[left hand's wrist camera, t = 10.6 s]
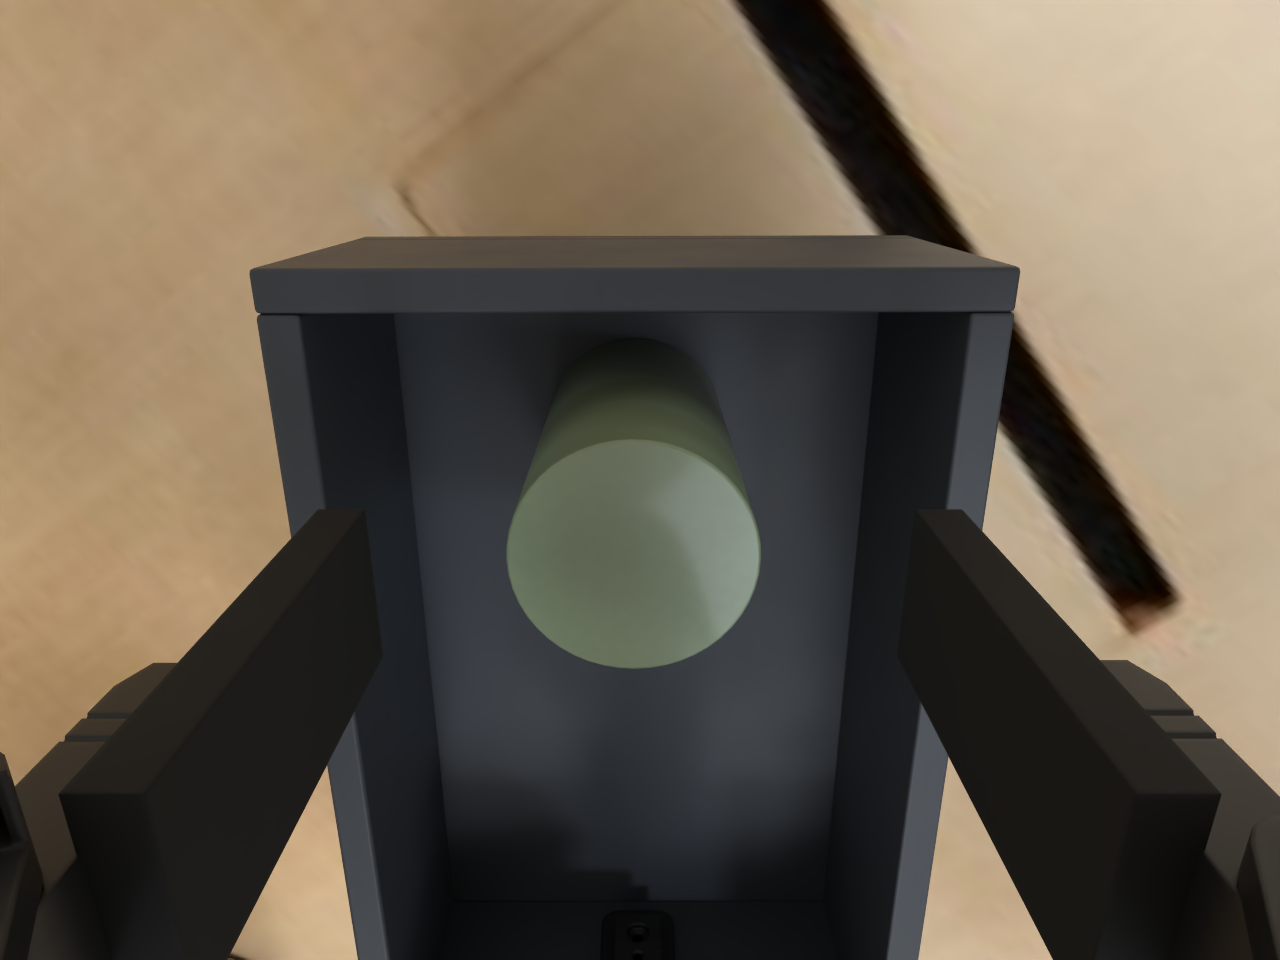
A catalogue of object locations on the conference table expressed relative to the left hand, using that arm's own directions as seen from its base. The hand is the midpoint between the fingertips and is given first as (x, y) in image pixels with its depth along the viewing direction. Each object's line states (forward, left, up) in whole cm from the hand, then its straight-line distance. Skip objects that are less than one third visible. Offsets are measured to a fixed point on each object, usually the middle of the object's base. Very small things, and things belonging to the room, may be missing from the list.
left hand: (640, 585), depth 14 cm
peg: (0, 0, -9) cm, 9 cm away
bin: (0, +6, -10) cm, 11 cm away
